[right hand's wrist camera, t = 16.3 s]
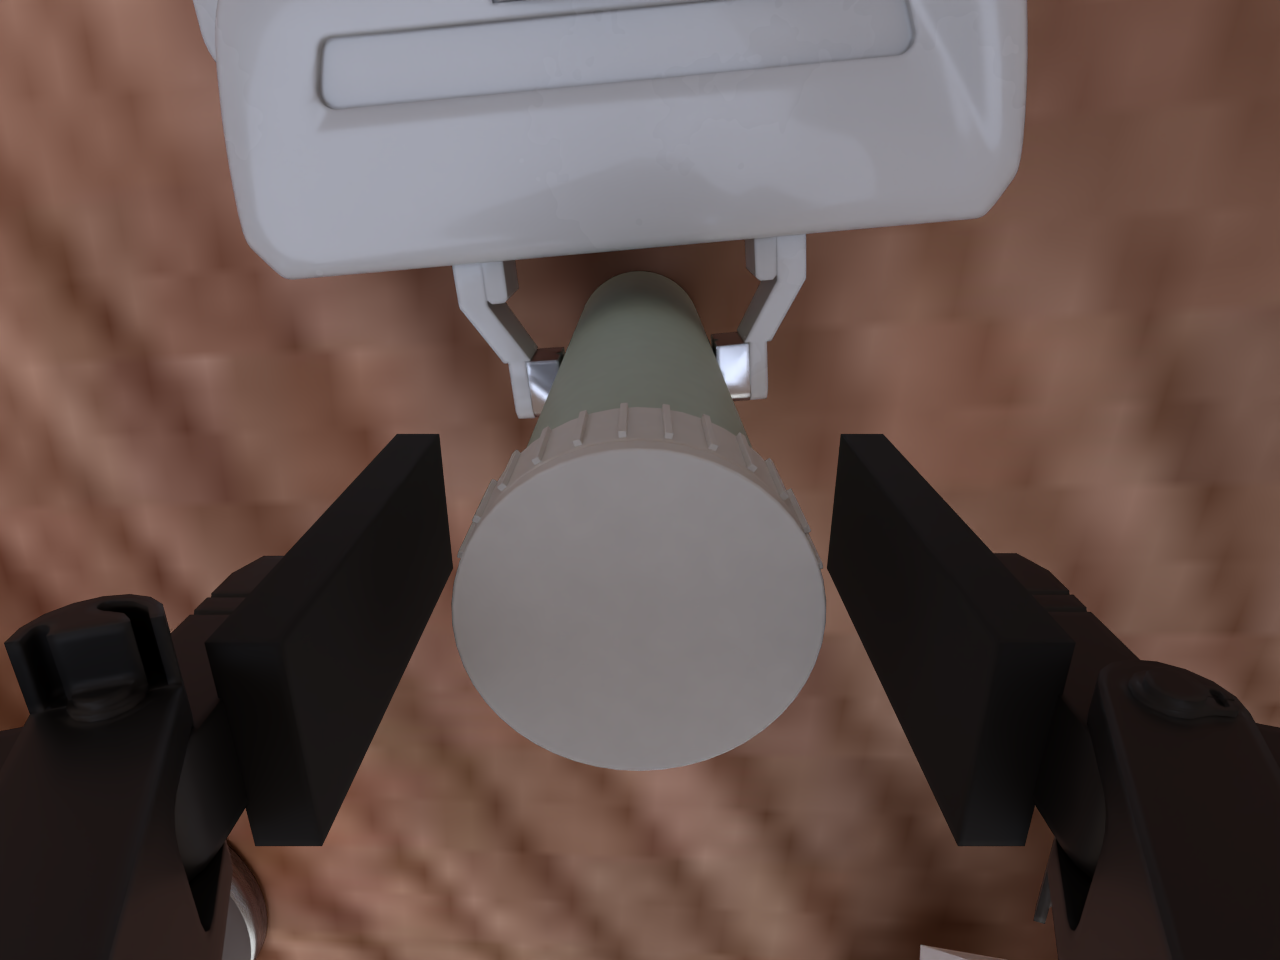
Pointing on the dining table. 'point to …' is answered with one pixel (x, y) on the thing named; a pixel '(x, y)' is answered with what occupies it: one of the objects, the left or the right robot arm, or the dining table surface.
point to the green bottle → (639, 357)
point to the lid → (638, 591)
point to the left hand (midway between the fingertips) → (643, 404)
